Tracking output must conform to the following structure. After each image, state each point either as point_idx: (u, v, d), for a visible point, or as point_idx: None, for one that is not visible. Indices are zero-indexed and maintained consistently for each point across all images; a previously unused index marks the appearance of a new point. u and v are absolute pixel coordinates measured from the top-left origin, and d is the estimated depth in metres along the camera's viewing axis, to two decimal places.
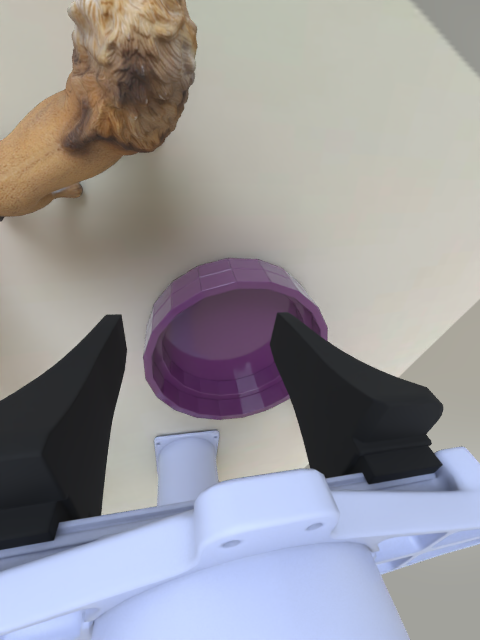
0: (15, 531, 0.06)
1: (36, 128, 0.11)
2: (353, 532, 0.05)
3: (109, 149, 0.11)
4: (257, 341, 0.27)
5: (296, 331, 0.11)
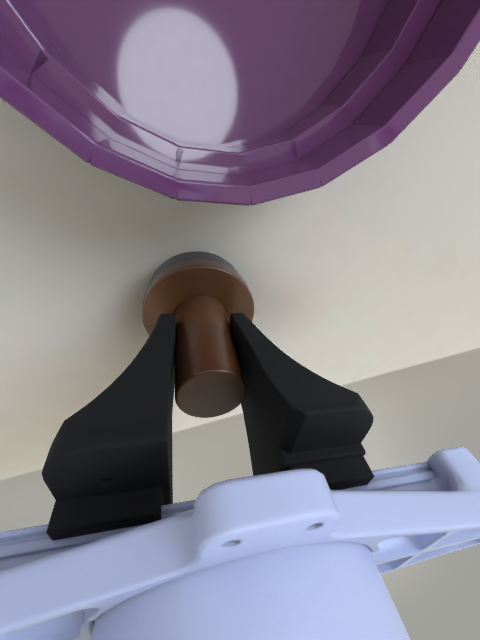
0: (131, 512, 0.06)
1: None
2: (353, 532, 0.05)
3: None
4: (230, 21, 0.09)
5: (243, 333, 0.11)
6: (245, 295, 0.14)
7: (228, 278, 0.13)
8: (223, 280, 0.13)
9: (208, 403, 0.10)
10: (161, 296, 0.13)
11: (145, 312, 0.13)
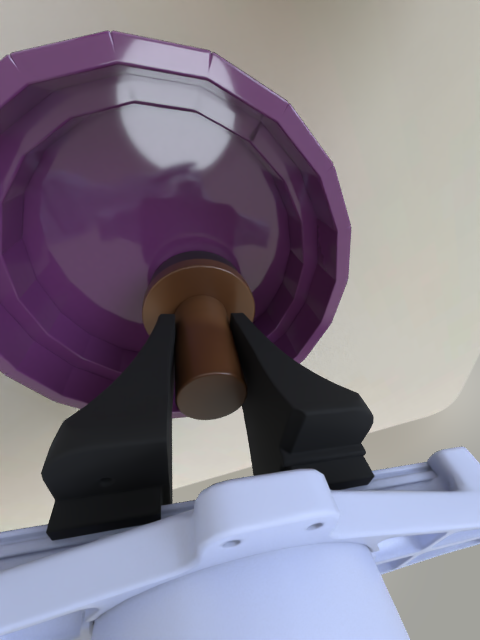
0: (130, 512, 0.06)
1: None
2: (353, 532, 0.05)
3: None
4: None
5: (243, 333, 0.11)
6: (246, 295, 0.14)
7: (229, 278, 0.13)
8: (224, 280, 0.13)
9: (209, 405, 0.10)
10: (161, 296, 0.13)
11: (144, 312, 0.13)
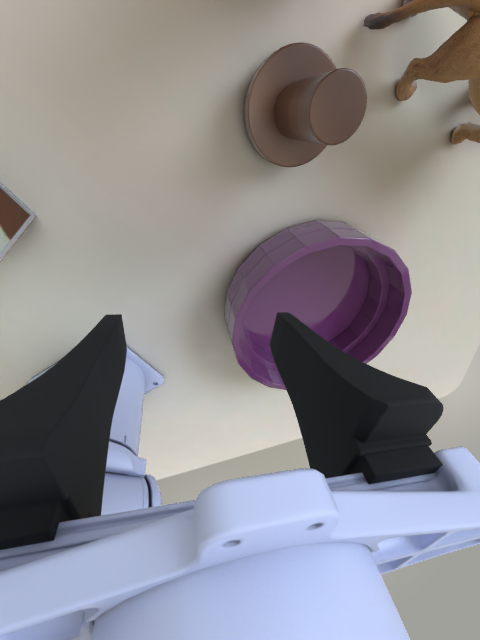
0: (15, 531, 0.06)
1: None
2: (353, 532, 0.05)
3: None
4: None
5: (296, 331, 0.11)
6: None
7: (326, 63, 0.15)
8: (322, 65, 0.15)
9: (333, 120, 0.12)
10: (268, 77, 0.15)
11: (252, 96, 0.15)
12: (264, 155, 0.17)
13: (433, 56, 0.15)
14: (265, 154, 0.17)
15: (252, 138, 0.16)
